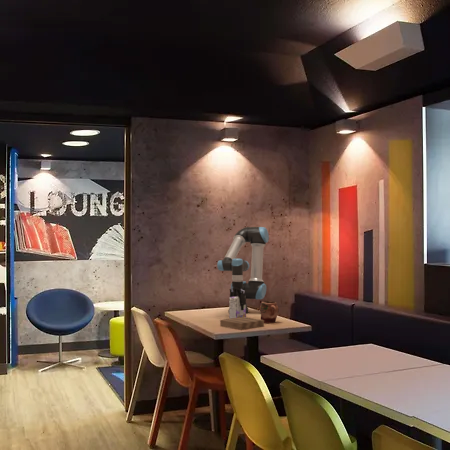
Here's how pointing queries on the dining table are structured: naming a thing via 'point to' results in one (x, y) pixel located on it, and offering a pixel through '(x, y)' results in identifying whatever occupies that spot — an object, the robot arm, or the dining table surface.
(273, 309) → the decorative planter
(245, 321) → the walnut plinth
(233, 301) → the candy box
